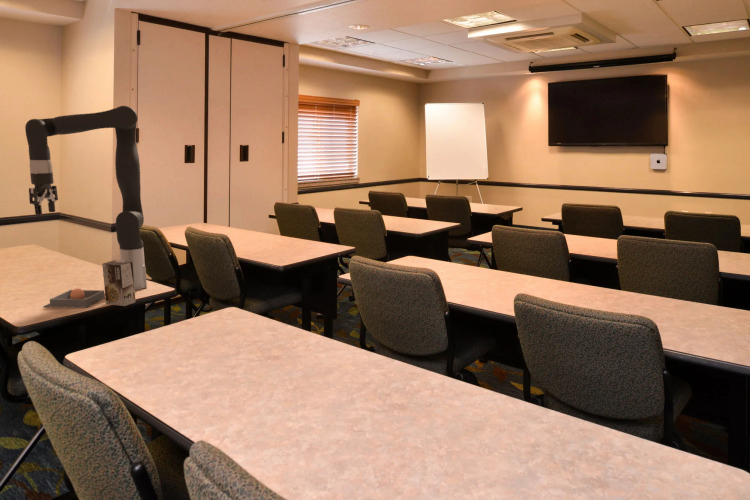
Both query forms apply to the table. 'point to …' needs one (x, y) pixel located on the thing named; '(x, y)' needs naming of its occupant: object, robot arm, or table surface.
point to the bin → (66, 300)
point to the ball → (77, 294)
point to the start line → (47, 305)
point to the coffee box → (119, 282)
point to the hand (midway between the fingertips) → (45, 213)
